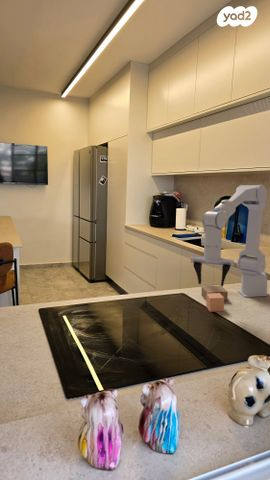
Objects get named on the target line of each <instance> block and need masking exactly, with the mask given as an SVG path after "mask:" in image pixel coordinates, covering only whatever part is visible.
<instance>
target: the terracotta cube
mask: <svg viewBox="0 0 270 480" xmlns="http://www.w3.org/2000/svg"><path fill="white" fill-rule="evenodd" d="M205 301H206V305H205V307H206V309H207V310H208V311H209V313H210V312H211V313H213V312H215V313H216V312H224V311H225V301H224V297H223V296H222V295H221V294H220V293H211V294H206V300H205Z"/></svg>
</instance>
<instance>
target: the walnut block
mask: <svg viewBox="0 0 270 480" xmlns="http://www.w3.org/2000/svg"><path fill="white" fill-rule="evenodd" d="M211 293H220V294H221V295H222V296H223V297H224V302H228V295H229V294H228V293H229V291H227V290H226V288H224V286H221V284H220V285H202V286H201V297H202V298H203V299H204V301H206V294H211Z"/></svg>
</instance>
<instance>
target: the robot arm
mask: <svg viewBox="0 0 270 480" xmlns="http://www.w3.org/2000/svg"><path fill="white" fill-rule="evenodd" d="M267 198H268V191H267V188H266V186H265V185H264V184H253V185H252V184H246V185H244V184H240V185H238V187H236V189H235V193H234V194H233V195H232V196H231V197H230V198H229V199H223V200H221V202H220V203H219V204H218V205H216V206H215V207H214V208H213V209H212V210H209V211H206V212H205V213H204V214H203V216H202V219H201V224H202V226H203V233H204V242H203V243H204V246H203V247H204V248H203V249H204V251H203V256H190V263H191V264H193V265H192V266H193V269H194V270H195V273H196V276H197V281H198V285H202V267H203V264H205V265H217V266H218V265H219V266H222V267H221V281H220V285H221V286H222V287H224V282H225V279H226V277H227V275H228V273H229V271H230V269H231V267H234V265H235V264H234V263H235V260H234V259H230V258H224V257H223V258H222V243H223V242H222V239H223V229H224V228H225V227H226V225H227V222H228V221H229V219H230V217H231V216H232V215H233V214H234V213H236V211H237V210H236V208H237V207H238V206H239V205H243V206H245V207H247V209H248V215H247V216H248V217H247V229H246V239H245V248H244V249H242V250H241V251H240V252H239V255H238V257H237V258H238V259H237V261H236V265H237V266H236V267H237V268H238V270H239V272H240V273H241V282H240V283H241V288H240V289H237V291H238V292H237V293H239V294H241V296H243V297H244V298H250V297H253V298H254V297H256V298H257V297H268V295H269V294H268V277H267V276H268V275H267V274H266V273H265V271H266V267H267V263H266V255H265V253H264V252H263V251H262V250H261V249H260V242H261V231H262V230H261V229H262V223H263V222H262V220H263V210H264V208H265V207H266V204H267Z"/></svg>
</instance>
